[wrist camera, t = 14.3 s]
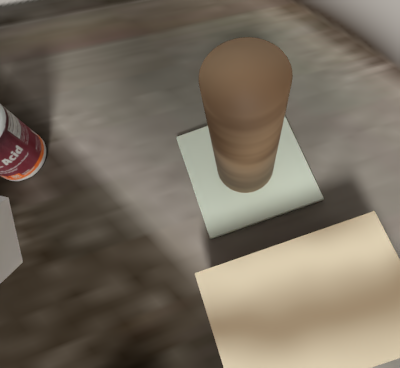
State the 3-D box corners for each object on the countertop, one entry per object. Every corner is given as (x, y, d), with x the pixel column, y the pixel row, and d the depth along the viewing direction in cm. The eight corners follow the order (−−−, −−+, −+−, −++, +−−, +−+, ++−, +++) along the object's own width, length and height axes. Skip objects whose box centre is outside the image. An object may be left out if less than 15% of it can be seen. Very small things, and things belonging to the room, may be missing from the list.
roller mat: (177, 139, 30) (176, 137, 30) (277, 104, 30) (277, 100, 30) (210, 239, 27) (209, 238, 27) (322, 200, 27) (323, 198, 27)
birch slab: (202, 277, 26) (194, 273, 23) (356, 224, 26) (374, 210, 22) (239, 395, 24) (237, 413, 20) (411, 337, 23) (442, 343, 20)
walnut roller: (210, 151, 29) (187, 54, 18) (261, 133, 29) (271, 25, 18) (227, 200, 28) (215, 129, 16) (281, 182, 27) (307, 98, 16)
